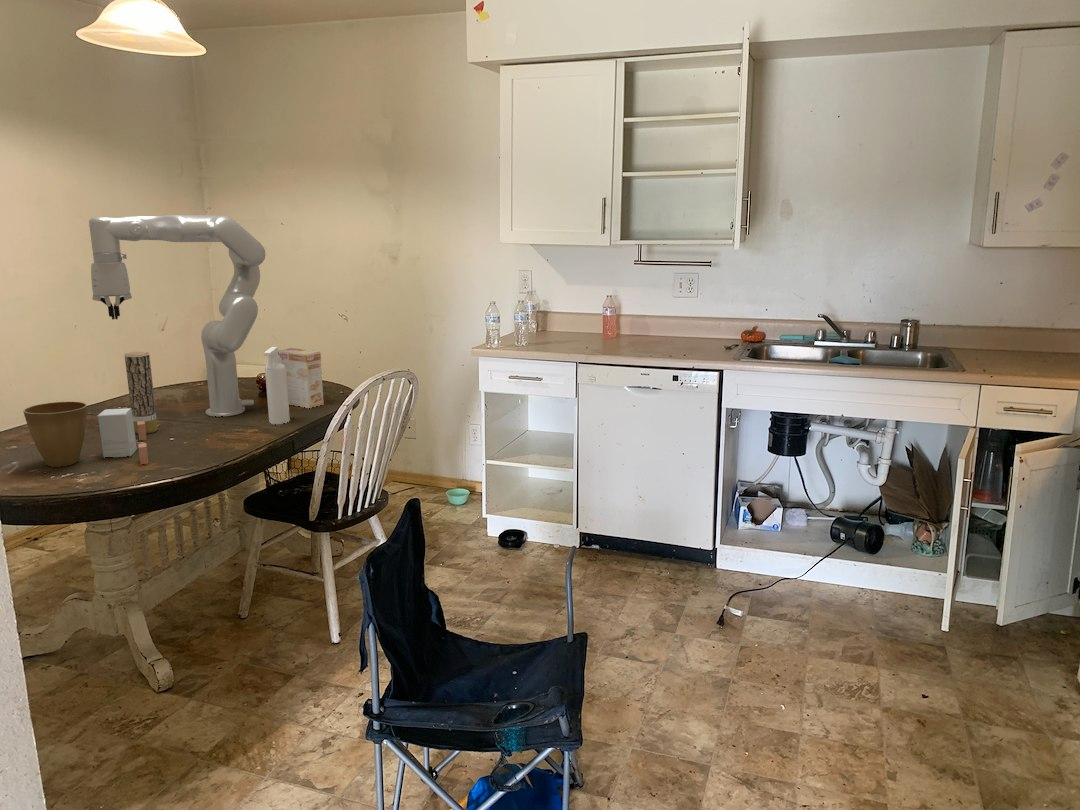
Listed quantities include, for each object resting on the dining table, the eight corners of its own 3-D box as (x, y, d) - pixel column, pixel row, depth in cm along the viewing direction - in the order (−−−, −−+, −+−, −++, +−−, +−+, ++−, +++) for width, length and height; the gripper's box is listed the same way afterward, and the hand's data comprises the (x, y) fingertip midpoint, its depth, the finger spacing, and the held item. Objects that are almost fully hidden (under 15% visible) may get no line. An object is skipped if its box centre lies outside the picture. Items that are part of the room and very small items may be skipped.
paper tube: (134, 435, 248) (124, 356, 242) (133, 430, 254) (124, 352, 248) (158, 433, 251) (149, 354, 245) (157, 428, 257) (148, 350, 251)
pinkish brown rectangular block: (146, 436, 247) (144, 420, 246) (148, 464, 221) (146, 446, 220) (139, 437, 246) (137, 421, 245) (140, 465, 220) (138, 447, 219)
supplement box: (137, 449, 234) (132, 407, 231) (130, 457, 227) (125, 413, 224) (110, 451, 233) (104, 408, 230) (102, 458, 226) (96, 415, 223)
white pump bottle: (298, 416, 271) (290, 343, 265) (284, 426, 260) (275, 351, 253) (279, 416, 272) (270, 343, 265) (264, 426, 260) (254, 351, 254)
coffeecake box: (324, 405, 288) (321, 351, 283) (309, 409, 282) (305, 354, 277) (295, 399, 295) (292, 347, 291) (280, 403, 290) (276, 350, 285)
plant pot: (86, 469, 217) (79, 411, 213) (24, 473, 213) (15, 415, 209) (99, 453, 231) (92, 399, 227) (41, 457, 227) (32, 402, 223)
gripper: (134, 257, 250) (141, 316, 254) (79, 258, 244) (87, 318, 248) (135, 258, 244) (142, 319, 248) (78, 259, 237) (86, 321, 241)
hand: (114, 318), depth 248 cm, fingers closed
